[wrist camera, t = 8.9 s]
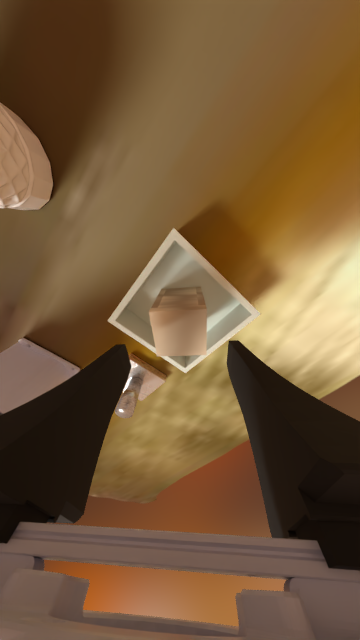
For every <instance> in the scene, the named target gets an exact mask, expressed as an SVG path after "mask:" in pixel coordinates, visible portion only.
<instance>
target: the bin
mask: <svg viewBox="0 0 360 640" xmlns="http://www.w3.org/2000/svg"><path fill="white" fill-rule="evenodd" d="M186 287H201V289H202V293H203V296H204V300H205V304H206V308H207V355H189V356H161V357H162V358H164V359H165V360H167V361H168V362H170V363H171V364H173V365H174V366H176V367H177V368H179V369H180V370H182V371H183V372H185V373H186V372H187V371H189V370H190V369H191V368H193V367H194V366H195V365H196V364H198V363H199V362H200V361H202V360H203V359H204V358H205V357H207V356H208V355H209V354H210V353H212V352H213V351H214V350H216V349H217V348H218V347H219V346H221V345H222V344H223V343H225V342H226V341H227V340H228V339H230V338H231V337H232V336H233V335H235V334H236V333H237V332H239V331H240V330H241V329H242V328H244V327H245V326H246V325H248V324H249V323H250V322H251V321H253V320H254V319H255V318H257V317H258V316H259V315H260V313H259V312H258V311H257V310H256V309H255V308H254V307H253V306H252V305H251V304H250V303H249V302H248V301H247V300H246V299H245V298H244V297H243V296H242V295H241V294H240V293H239V292H238V291H237V290H236V289H235V288H234V287H233V286H232V285H231V284H230V283H229V282H228V281H227V280H226V279H225V278H224V277H223V276H222V275H221V274H220V273H219V272H218V271H217V270H216V269H215V268H214V267H213V266H212V265H211V264H210V263H209V262H208V261H207V260H206V259H205V258H204V257H203V256H202V255H201V254H200V253H199V252H198V251H197V250H196V249H195V248H194V247H193V246H192V245H191V244H190V243H189V242H188V241H187V240H186V239H185V238H184V237H183V236H182V235H181V234H180V233H179V232H178V231H177V230H175V229H174V228H173V229H172V231H171V232H170V234H169V235H168V236H167V238H166V239H165V241H164V242H163V243H162V245H161V246H160V248H159V249H158V250H157V252H156V253H155V255H154V256H153V258H152V259H151V260H150V262H149V263H148V265H147V266H146V267H145V269H144V270H143V272H142V273H141V274H140V276H139V277H138V279H137V280H136V281H135V283H134V284H133V286H132V287H131V288H130V290H129V291H128V293H127V294H126V295H125V297H124V298H123V300H122V301H121V302H120V304H119V305H118V307H117V308H116V309H115V311H114V312H113V314H112V315H111V316H110V318H109V319H108V322H109V323H111V324H112V325H114V326H115V327H117V328H118V329H120V330H121V331H123V332H124V333H126V334H127V335H129V336H130V337H132V338H133V339H135V340H136V341H138V342H139V343H141V344H142V345H144V346H146V347H147V348H149V349H150V350H152V351H153V352H155V353H156V348H155V343H154V337H153V332H152V327H151V322H150V316H149V310H150V309H151V307H152V305H153V303H154V301H155V300H156V298H157V296H158V294H159V292H160V291H161V289H170V288H186ZM156 354H157V353H156Z"/></svg>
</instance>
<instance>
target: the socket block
mask: <svg viewBox="0 0 360 640" xmlns="http://www.w3.org/2000/svg"><path fill="white" fill-rule="evenodd" d="M149 316H150V322H151V327H152V332H153V337H154V343H155V348H156V353H157V356H189V355H207V308H206V304H205V300H204V296H203V293H202V289H201V287H186V288H170V289H161V291H160V292H159V294H158V296H157V298H156V300H155V301H154V303H153V305H152V307H151V309H150V310H149Z"/></svg>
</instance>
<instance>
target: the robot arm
mask: <svg viewBox="0 0 360 640" xmlns="http://www.w3.org/2000/svg"><path fill="white" fill-rule="evenodd" d="M227 367H228V372H229V376H230V379H231V382H232V385H233V388H234V391H235V394H236V396H237V399H238V402H239V405H240V407H241V410H242V413H243V416H244V420H245V423H246V427H247V431H248V435H249V439H250V443H251V447H252V451H253V455H254V459H255V463H256V468H257V472H258V476H259V480H260V485H261V490H262V494H263V498H264V504H265V508H266V513H267V518H268V523H269V527H270V532H271V535H272V538H267V537H252V536H236V535H221V534H204V533H189V532H172V531H157V530H142V529H125V528H109V527H94V526H79V525H63V524H47V522H50V523H56V522H60V523H75V522H76V521H78V520H79V519H80V518H81V516H82V515H83V514H84V510H85V506H86V502H87V498H88V494H89V490H90V486H91V482H92V478H93V475H94V471H95V467H96V464H97V460H98V457H99V453H100V450H101V447H102V444H103V440H104V437H105V434H106V431H107V428H108V425H109V422H110V419H111V417H112V414H113V412H114V409H115V407H116V405H117V403H118V400H119V398H120V396H121V394H122V391H123V389H124V387H125V384H126V382H127V380H128V377H129V373H130V370H131V362H130V359H129V356H128V353H127V349H126V346H125V344H120V345H115V346H114V347H112V348H111V349H110V350H108V351H107V352H106V353H104V354H103V355H102V356H100V357H99V358H98V359H96V360H95V361H94V362H92V363H91V364H90V365H88V366H87V367H85V368H84V369H82V370H81V371H80V368H79V367H77V366H75V365H73V364H71V363H70V362H68V361H66V360H64V359H62V358H60V357H58V356H57V355H55V354H53V353H51V352H49V351H47V350H45V349H44V348H42V347H40V346H38V345H36V344H34V343H33V342H31V341H29V340H27V339H25V338H21V339H19V341H18V343H16V344H15V345H13V346H11V347H10V348H8V349H6V350H5V351H3V352H1V353H0V640H360V422H359V421H358V420H356V419H353V418H352V417H350V416H348V415H346V414H344V413H342V412H340V411H338V410H336V409H334V408H332V407H331V406H329V405H327V404H325V403H323V402H322V401H320V400H318V399H316V398H315V397H313V396H311V395H310V394H308V393H306V392H305V391H303V390H301V389H300V388H298V387H297V386H295V385H294V384H292V383H291V382H289V381H288V380H286V379H285V378H283V377H282V376H280V375H279V374H277V373H276V372H275V371H274V370H272V369H271V368H270V367H268V366H267V365H266V364H264V363H263V362H262V361H261V360H260V359H258V358H257V357H256V356H255V355H254V354H253V353H252V352H250V351H249V350H248V349H247V348H246V347H245V346H244V345H243V344H242V343H240V342H239V341H229V345H228V356H227ZM79 371H80V372H79ZM43 559H46V560H58V561H70V562H82V563H94V564H106V565H118V566H130V567H143V568H154V569H166V570H178V571H191V572H202V573H213V574H225V575H237V576H249V577H262V578H274V579H286V582H285V584H284V591H266V590H265V591H264V590H242V592H241V593H237V595H236V604H237V611H238V619H239V627H237V626H229V625H221V624H213V623H204V622H196V621H188V620H180V619H171V618H162V617H152V616H141V615H132V614H121V613H110V612H99V611H88V610H83V605H84V601H85V597H86V594H87V590H88V587H89V580H88V579H83V578H77V577H72V576H68V575H65V574H62V573H53V572H46V571H44V560H43Z"/></svg>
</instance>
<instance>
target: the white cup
mask: <svg viewBox="0 0 360 640" xmlns="http://www.w3.org/2000/svg"><path fill="white" fill-rule="evenodd" d="M52 188H53V179H52V173H51V166H50V162H49V160H48V158H47V155H46V153H45V151H44V149H43V147H42V145H41V143H40V141H39V139H38V138H37V136H36V135H35V134H34V133H33V132H32V131H31V130H30V129H29V127H28V126H27V125H26V124H25V123H24V122H23V121H22V119H21V118H20V117H19V116H17V115H16V114H15V113H13V112H12V111H11V110H10V109H8V108H7V107H6V106H4V105H3V104H2V103H1V102H0V208H12V209H19V210H39V209H40V208H41V207H43V206H44V205H45V204H46V203H47V202H48V201H49V200H50V196H51V192H52Z"/></svg>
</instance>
